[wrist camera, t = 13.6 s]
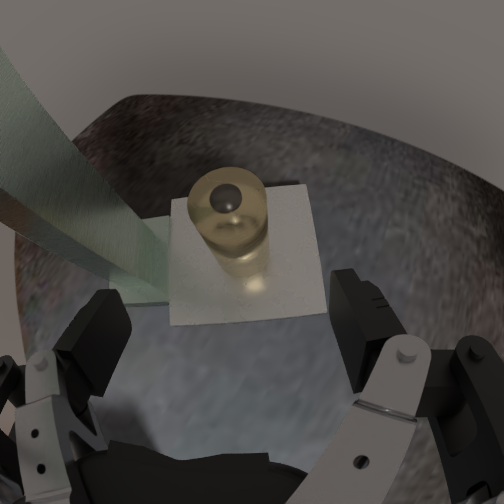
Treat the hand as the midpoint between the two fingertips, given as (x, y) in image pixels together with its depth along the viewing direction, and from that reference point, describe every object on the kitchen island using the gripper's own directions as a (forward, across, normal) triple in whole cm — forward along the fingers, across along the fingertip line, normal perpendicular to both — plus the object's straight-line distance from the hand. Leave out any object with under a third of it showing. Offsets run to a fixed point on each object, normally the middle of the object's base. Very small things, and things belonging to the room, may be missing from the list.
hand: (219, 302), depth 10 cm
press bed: (+14, +9, +5) cm, 18 cm away
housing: (+13, 0, +4) cm, 14 cm away
